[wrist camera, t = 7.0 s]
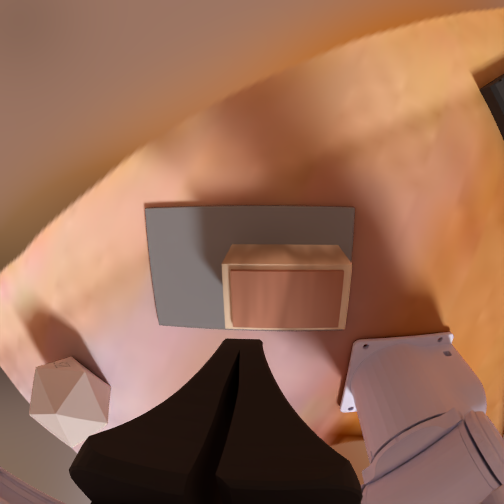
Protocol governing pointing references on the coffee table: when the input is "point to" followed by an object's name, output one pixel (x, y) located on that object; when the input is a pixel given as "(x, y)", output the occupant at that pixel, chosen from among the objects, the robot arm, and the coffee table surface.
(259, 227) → the slate mat
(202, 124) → the coffee table surface
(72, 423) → the die
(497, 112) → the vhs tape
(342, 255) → the maple block
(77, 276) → the coffee table surface
